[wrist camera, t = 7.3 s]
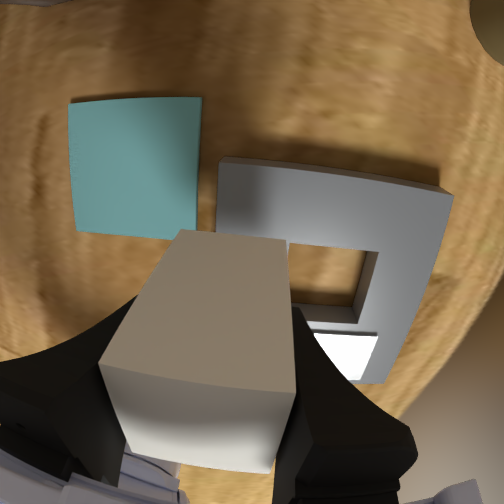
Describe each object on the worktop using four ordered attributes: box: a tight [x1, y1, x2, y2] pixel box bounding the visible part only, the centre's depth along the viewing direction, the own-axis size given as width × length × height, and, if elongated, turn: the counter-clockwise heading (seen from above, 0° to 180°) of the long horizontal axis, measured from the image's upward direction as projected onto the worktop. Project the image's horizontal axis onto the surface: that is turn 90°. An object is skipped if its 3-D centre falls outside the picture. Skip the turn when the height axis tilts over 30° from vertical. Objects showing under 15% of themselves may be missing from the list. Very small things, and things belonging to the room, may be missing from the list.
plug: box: [98, 229, 296, 474], centre depth 11 cm, size 4×4×8 cm
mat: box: [68, 97, 202, 240], centre depth 19 cm, size 9×9×1 cm
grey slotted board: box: [216, 156, 454, 384], centre depth 21 cm, size 16×14×2 cm
